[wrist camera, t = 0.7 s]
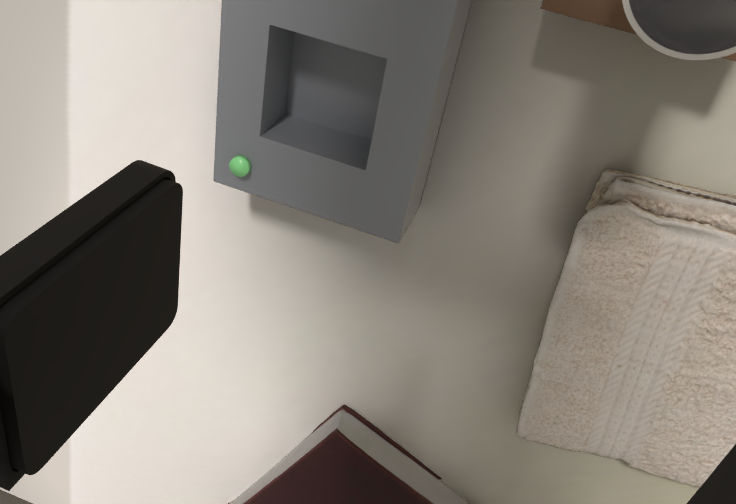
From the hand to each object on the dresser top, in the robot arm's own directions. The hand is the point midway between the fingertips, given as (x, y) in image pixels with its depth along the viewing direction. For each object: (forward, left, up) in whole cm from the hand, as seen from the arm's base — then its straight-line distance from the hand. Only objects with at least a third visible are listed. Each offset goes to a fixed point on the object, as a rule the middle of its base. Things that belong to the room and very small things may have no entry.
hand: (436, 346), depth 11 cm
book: (+40, -4, -24) cm, 47 cm away
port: (+6, -9, -23) cm, 26 cm away
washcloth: (+15, +10, -24) cm, 30 cm away
